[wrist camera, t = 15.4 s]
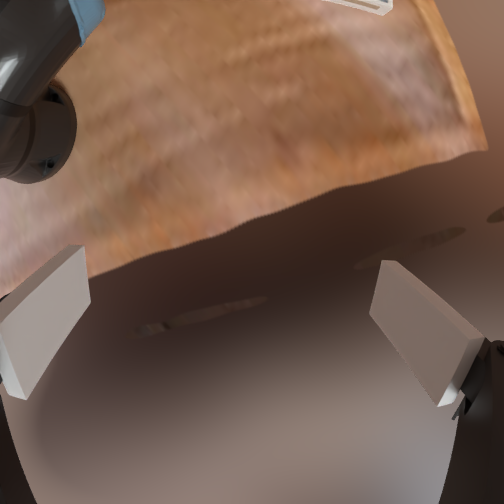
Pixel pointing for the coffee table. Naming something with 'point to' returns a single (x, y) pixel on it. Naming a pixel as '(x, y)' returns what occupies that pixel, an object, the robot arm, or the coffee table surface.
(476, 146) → the coffee table surface
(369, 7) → the open white box
